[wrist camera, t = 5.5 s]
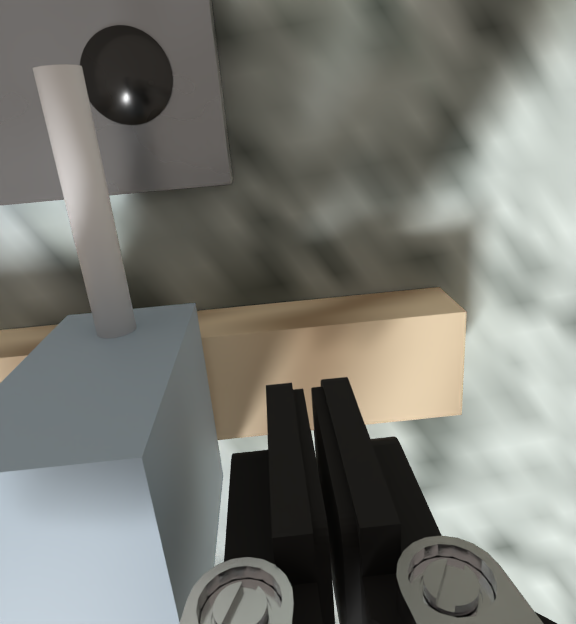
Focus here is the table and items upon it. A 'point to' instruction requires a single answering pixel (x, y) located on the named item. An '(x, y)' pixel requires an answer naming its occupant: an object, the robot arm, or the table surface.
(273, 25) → the table surface
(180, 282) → the table surface
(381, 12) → the table surface
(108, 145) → the flange plate
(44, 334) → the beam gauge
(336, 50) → the table surface
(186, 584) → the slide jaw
